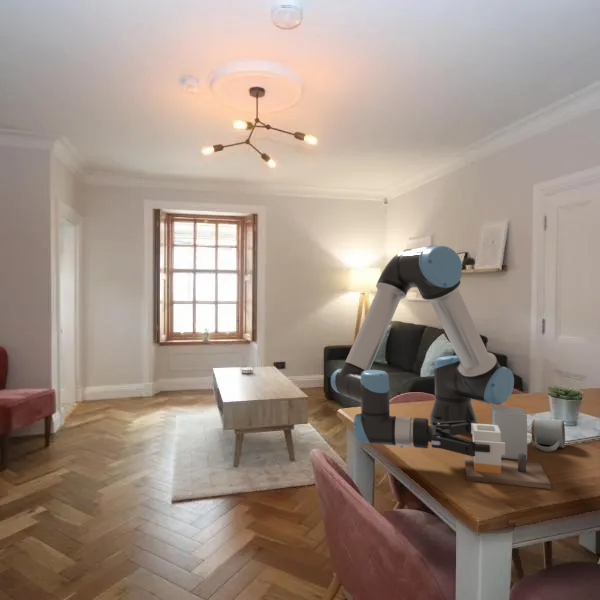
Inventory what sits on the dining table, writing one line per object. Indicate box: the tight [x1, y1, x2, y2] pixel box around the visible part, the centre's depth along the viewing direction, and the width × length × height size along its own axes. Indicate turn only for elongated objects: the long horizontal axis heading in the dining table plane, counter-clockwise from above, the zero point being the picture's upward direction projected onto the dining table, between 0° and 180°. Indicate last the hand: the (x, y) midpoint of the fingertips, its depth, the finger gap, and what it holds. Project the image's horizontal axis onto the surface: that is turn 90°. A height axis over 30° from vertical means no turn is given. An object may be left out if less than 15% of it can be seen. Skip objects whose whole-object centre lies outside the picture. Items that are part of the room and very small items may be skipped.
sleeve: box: [472, 423, 502, 474], centre depth 110 cm, size 6×6×10 cm
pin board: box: [463, 453, 552, 490], centre depth 109 cm, size 12×18×5 cm, turn 72°
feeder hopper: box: [490, 405, 528, 461], centre depth 122 cm, size 8×8×12 cm
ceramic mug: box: [530, 418, 566, 453], centre depth 127 cm, size 11×8×8 cm
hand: (501, 439), depth 109 cm, fingers open, 13 cm apart
